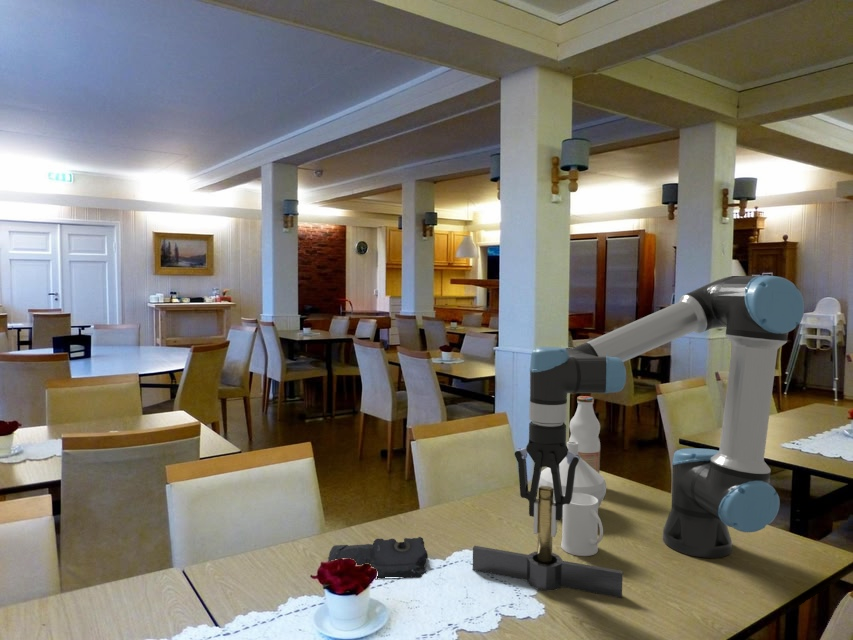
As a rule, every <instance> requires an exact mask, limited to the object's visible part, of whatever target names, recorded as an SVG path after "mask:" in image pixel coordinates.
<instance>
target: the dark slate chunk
mask: <svg viewBox="0 0 853 640" xmlns="http://www.w3.org/2000/svg"><path fill="white" fill-rule="evenodd" d="M428 557H429V555H428V551H427V550H426V547H425V541H424V538H423V537H421V536H418V537H412V538H409V537H408V538H407V537H404V538H403V541H400V542H398V541H397V540H396V539H395V538H389V539H384V538H376V539H375V540H374V541H373V543H370V544H369V543H365V544H352V545H349V544H336V545H333V546H332V547H331V549H330V550H329V553H328V557H327V559H328V562H329V561H331V560H335V559H340V558H351V559H354V560H355V561H356V563H357V565H362V564H365V563H369V564H371V566H372V567H374V568H376V569H377V571H378V576H377V579H376V580H379V579H378V578H385V577H404V578H403V579H408V578H410V579H413V578H421V577H422V575H423V574H424V573H425V574H427V573H426V572H427V571H425V570H426V563H427V559H428ZM424 566H425V567H424Z"/></svg>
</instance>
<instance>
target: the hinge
mask: <svg viewBox="0 0 853 640" xmlns="http://www.w3.org/2000/svg"><path fill="white" fill-rule="evenodd" d="M475 570H476V571H475ZM472 571H475V572H482V573H485V574H486V573H487V574H491V575H498V576H502V577H508V578H512V579H519V580H523V581H526V582H527V584H528V585H529V586H530V587H532V588H533V589H536V590H538V591H539V590H540V591H545V592H549V591H556V590H558V589H560V588H565V589H572V590H576V591H577V590H578V591H583V592H587V593H592V594H599V595H602V596H603V595H604V596H608V597H614V598H619V599H622V598H623V580H624V579H623V578H624V577H623V573H624V571H623V570H619V569H618V570H617V569H613V568H608V567H607V568H606V567H602V566H595V565H589V564H585V563H584V564H583V563H577V562H573V561H566V560H563V559H562V557H560V555H558V554H556V553H554V552H552V560H551V561H550V562H542V561H540V560H538V559H537V551H533V552H532V553H529V554H526V553H520V552H515V551H514V552H513V551H508V550H503V549H496V548H490V547H486V546H480V545H474V546H473V547H472Z"/></svg>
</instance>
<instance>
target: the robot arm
mask: <svg viewBox="0 0 853 640" xmlns="http://www.w3.org/2000/svg"><path fill="white" fill-rule="evenodd" d="M804 301H805V300H804V297H803V295H802V293H801V291H800V289H799V288H797V286H796V284H794V283H793V282H792V281H791V280H789V279H787V278H785V277H782V276H776V275H775V276H774V275H769V274H767V275H765V274H764V275H761V274H760V275H743V276H742V275H733V276H727V277H723V278H721V279H717V280H714V281H712V282H710V283H707V284H705V285H703V286H701V287H698V288H696V289H695V290H692V291H690V292H688V293H685V294H683V295H682V296H681V297H679V300H678V301H677V302H676V303H673V304H671V305H669V306H666V307H664V308H662V309H660V310H657V311H655V312H653V313H651V314H648V315H646V316H644V317H640V318H639V319H637V320H635V321H634V320H633V321H632V322H630V323H627V324H625V325H623V326H620V327H618V328H616V329H613V330H612V331H608V332H607V333H605V334H603V335H602V334H601V335H600V336H598V337H596V338H593V339H591V340H588V341H587V342H584V343H581V344H579V345H577V346H574V347H561V346H538V347H535V348H533V349H532V351H531V354H530V365H529V383H530V384H529V395H530V396H529V412H528V413H529V414H528V415H529V416H528V418H529V420H530V422H529V423H528V426H529V427H528V443H527V445H526V446H525V447H524V448H518V449H516V450H515V452H514V457H515V459H516V461H517V465H518V481H519V495H520V498H522V499H525V500H528V515H529V517H533V534H534V535H538V506H539V498H537V497H538V493H539V489H538V486H539V481H540V475H541V471H542V470H543V469H542V468H544V467H545V468H547V467H549V468H551V473H552V480H553V487H554V495H555V501H554V502H553V504H552V521H551V537H552V538H555V537H556V535H557V533H558V521H559V522H560V521H561V520H562V519H563V516H562V514H563V504H570V502H571V499H572V494H573V486H574V478H575V469H576V466H577V464H578V462H579V459H580V456H579V455H574V454H572V453H570V452H568V448H567V425H566V424H565V423H566V422H567V413H568V412H567V409H568V408H567V405H568V404H567V402H568V394H611V393H619V392H621V391H622V390H623V389H624V387H625V385H626V381H627V369H626V365H625V363H624V362H627V361H628V360H631V359H634V358H636V357H638V356H641V355H643V354H645V353H647V352H649V351H651V350H655V349H657V348H659V347H660V346H663V345H666V344H668V343H670V342H673V341H674V340H676V339H679V338H682V337H684V336H686V335H688V334H690V333H693V332H696V333H698V334H700V333H705V332H706V331H708V330H712V329H716V328H725V334H724V335H725V338H727V339H728V340H729V342H730V343H731V351H730V352H731V353H730V360H729V369H728V376H727V385H726V391H725V401H724V410H723V417H722V426H721V434H720V441H719V450H717V449H712V448H711V449H710V448H697V447H696V448H694V447H693V448H681V449H678V450H675V452H674V453H673V458H672V463H671V466H672V473H671V474H672V478H671V479H672V480H671V483H672V485H671V507H670V508H671V509H670V512H669V514H668V516H667V519H666V522H665V523H664V526H663V529H662V541H663V543H664V544H665V545H666V546H667V547H669V548H671V549H672V550H674V551H676V552H678V553H682V554H684V555H688V556H693V557H697V558H703V559H704V558H706V559H718V558H723V557H726V556H728V555H730V554H731V553H732V548H733V547H732V544H733V542H732V537H731V534H730V531H729V527H730V528H733V529H734V530H736V531H739V532H742V533H756V532H759V531H761V530H763V529H765V528H766V527H767V526H768V525H770V524H771V523H773V521H774V520H775V518H776V517H777V515H778V513H779V510H780V505H781V503H780V502H781V501H780V496H779V494H778V492H777V491H776V489H775V488H774V487H773V485H771V484H770V480H771V479H770V478H771V470H772V469H771V468H770V467H769V465H768V464H767V463H766V462H765V453H766V444H767V437H768V436H767V435H768V428H769V421H770V420H769V419H770V414H771V413H770V412H771V404H772V397H773V389H774V388H773V387H774V380H775V371H776V363H777V355H778V350H779V349H780V348H782V346H784V345H785V344H786V343H788V336H789V332H792V331H793V330H794V329H796V328H797V326H798V325H800V323H801V322H802V319H803V317H804V313H805V302H804ZM528 455H529V457H530V458H531V459H532V461H533V463H534V466H533V474H532V479H531V484H530V490H529V484H528V483H529V482H528V468H527V467H528V466H527V458H528ZM565 457H567V463H568V464H569V468H568V476H567V484H566V492H565V496H563V494H562V486H561V479H560V471H559V464H560V463H561V462H562V460H563V459H564V458H565Z"/></svg>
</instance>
